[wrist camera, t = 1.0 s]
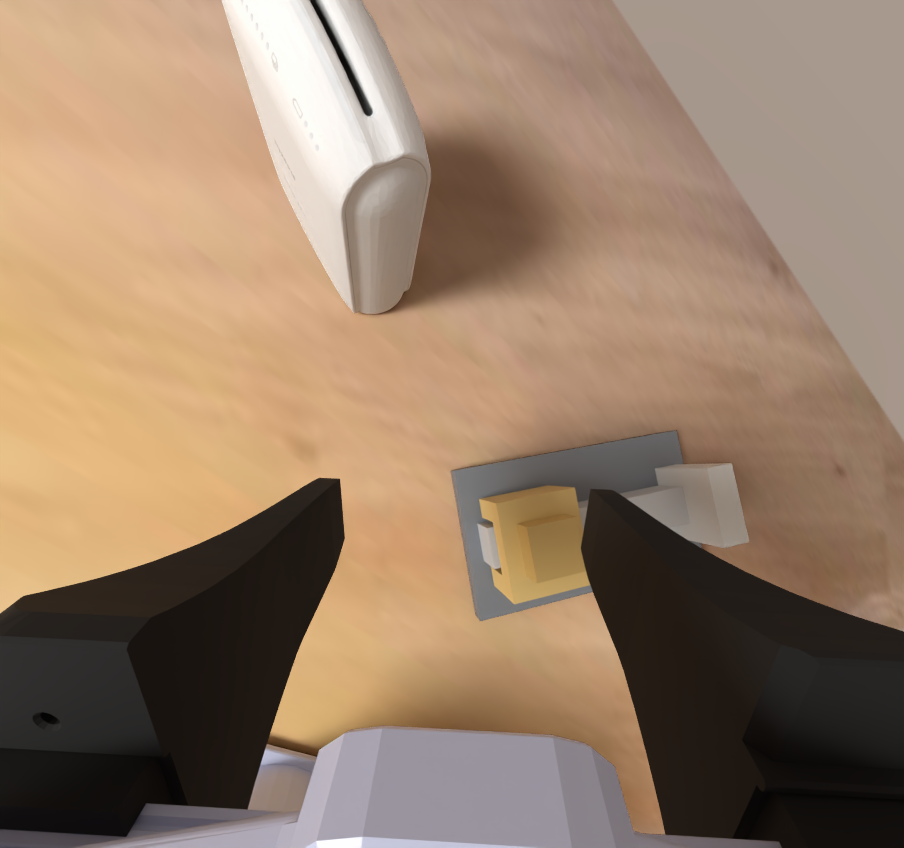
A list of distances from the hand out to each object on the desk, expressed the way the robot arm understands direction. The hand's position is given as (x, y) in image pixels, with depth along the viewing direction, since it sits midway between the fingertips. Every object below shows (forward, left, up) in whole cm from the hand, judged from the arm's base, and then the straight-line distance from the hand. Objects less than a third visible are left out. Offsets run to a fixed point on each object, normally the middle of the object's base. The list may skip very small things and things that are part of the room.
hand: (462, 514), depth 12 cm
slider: (0, -6, -10) cm, 12 cm away
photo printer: (+12, +9, -12) cm, 19 cm away
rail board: (+2, -9, -11) cm, 15 cm away
